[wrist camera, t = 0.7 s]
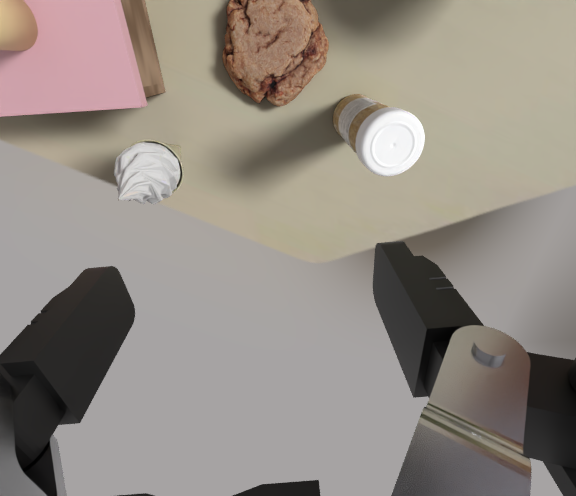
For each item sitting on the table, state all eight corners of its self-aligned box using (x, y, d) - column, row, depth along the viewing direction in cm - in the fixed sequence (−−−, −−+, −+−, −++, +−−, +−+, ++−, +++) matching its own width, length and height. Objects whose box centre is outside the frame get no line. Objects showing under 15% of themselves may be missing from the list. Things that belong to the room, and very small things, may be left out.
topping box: (-37, -45, 26) (-130, -76, 20) (132, -56, 26) (89, -91, 20) (26, 101, 32) (-33, 110, 26) (165, 92, 32) (139, 99, 26)
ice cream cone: (144, 135, 34) (63, 180, 21) (186, 115, 33) (128, 150, 20) (171, 177, 36) (113, 241, 23) (210, 160, 35) (172, 216, 23)
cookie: (306, -48, 27) (309, -60, 25) (335, 84, 32) (341, 86, 30) (199, -3, 28) (192, -10, 26) (244, 117, 34) (242, 122, 31)
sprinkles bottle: (381, 122, 34) (436, 154, 22) (344, 147, 35) (378, 190, 24) (362, 83, 32) (411, 95, 20) (323, 110, 33) (349, 137, 22)
